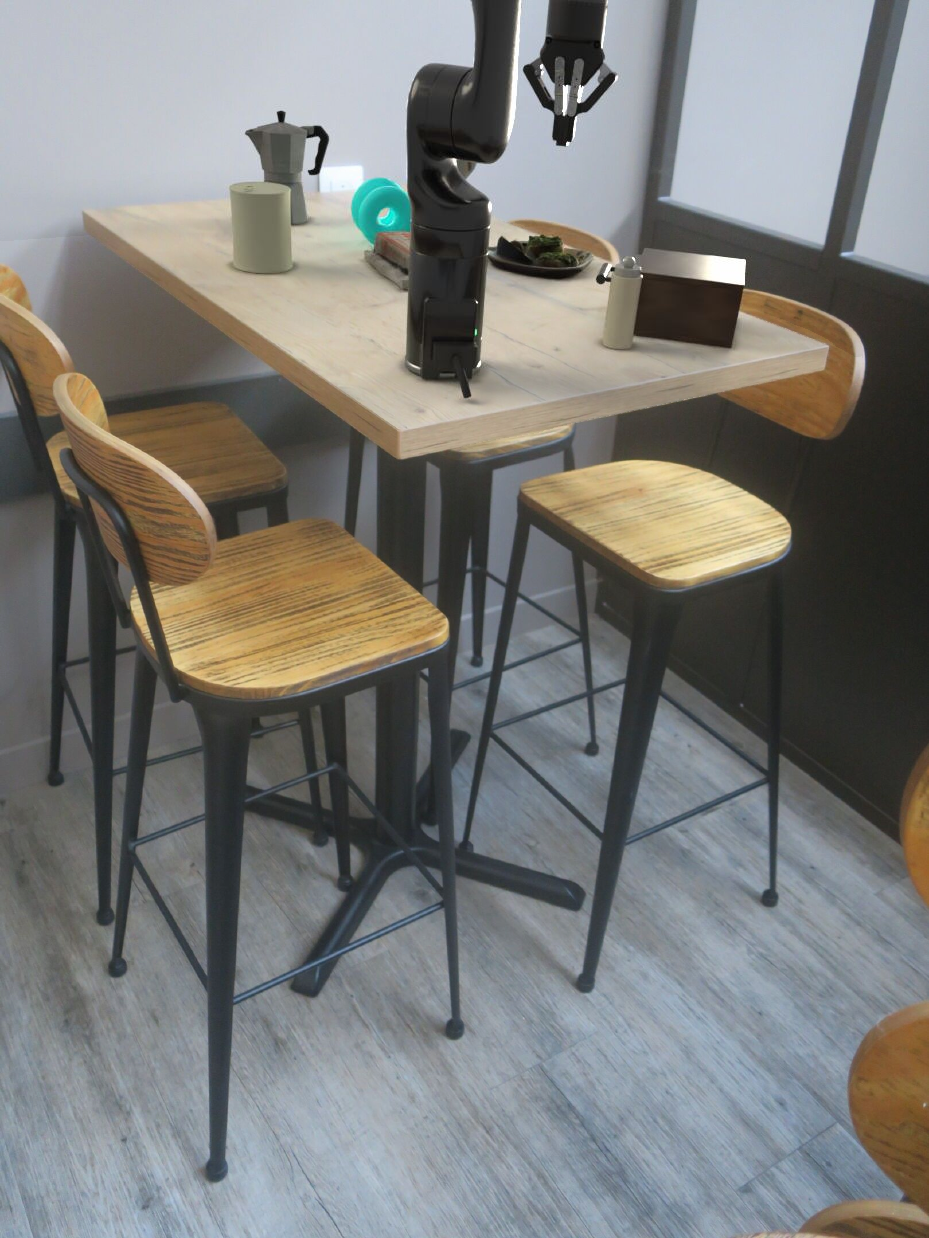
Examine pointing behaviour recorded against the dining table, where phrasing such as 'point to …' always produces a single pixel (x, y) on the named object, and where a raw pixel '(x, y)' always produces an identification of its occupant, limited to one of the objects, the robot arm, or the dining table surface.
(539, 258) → the salad plate
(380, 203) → the donuts
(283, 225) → the can
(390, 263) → the packaged product
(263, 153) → the coffeepot
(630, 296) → the pepper mill
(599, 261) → the dining table surface
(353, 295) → the dining table surface
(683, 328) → the cabinet
